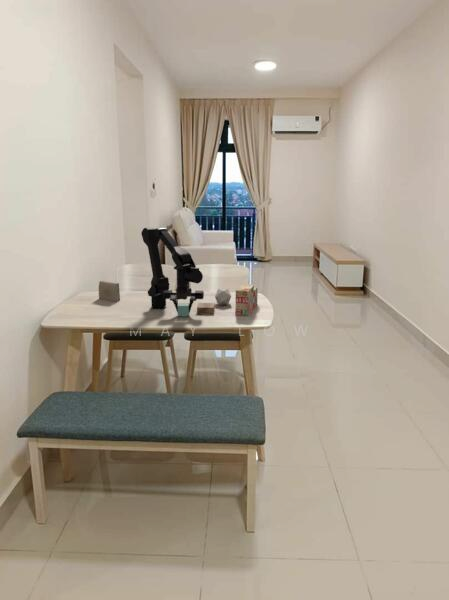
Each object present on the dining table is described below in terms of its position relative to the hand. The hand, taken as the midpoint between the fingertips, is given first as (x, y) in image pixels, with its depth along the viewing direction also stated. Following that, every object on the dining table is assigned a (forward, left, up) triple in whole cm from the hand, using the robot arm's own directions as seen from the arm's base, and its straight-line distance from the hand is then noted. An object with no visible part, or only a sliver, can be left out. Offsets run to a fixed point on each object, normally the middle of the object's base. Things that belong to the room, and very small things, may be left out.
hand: (183, 312), depth 208 cm
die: (+18, +20, -2) cm, 27 cm away
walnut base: (+10, +7, -1) cm, 12 cm away
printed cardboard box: (+30, +11, -2) cm, 32 cm away
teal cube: (0, 0, -1) cm, 1 cm away
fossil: (-42, +26, -2) cm, 49 cm away
